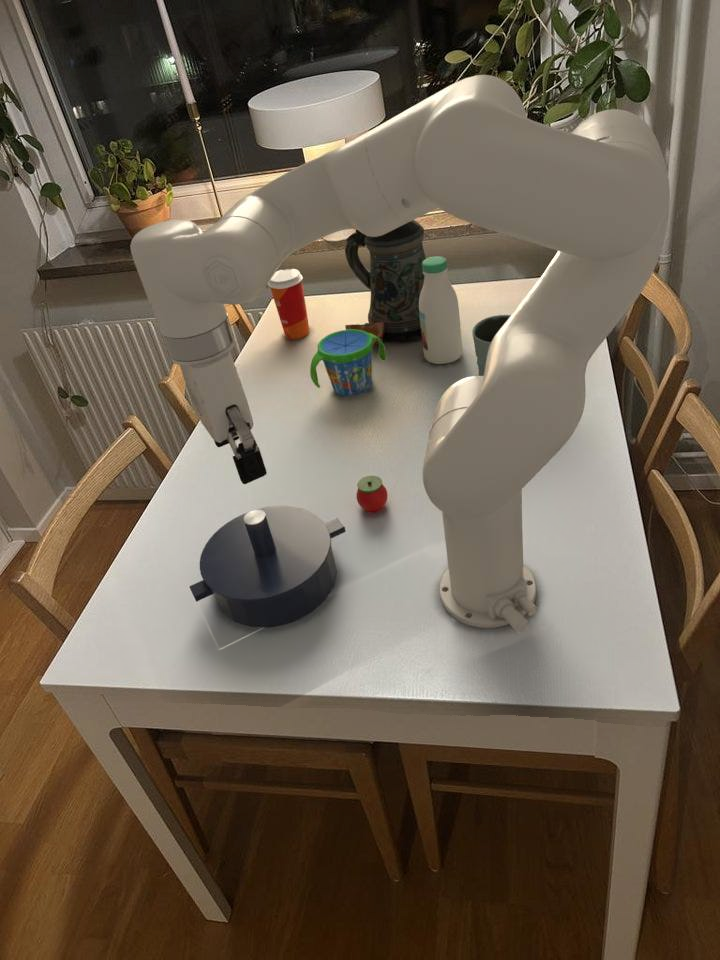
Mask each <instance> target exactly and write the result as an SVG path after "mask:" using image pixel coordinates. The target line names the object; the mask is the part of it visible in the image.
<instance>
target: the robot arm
mask: <svg viewBox="0 0 720 960" xmlns="http://www.w3.org/2000/svg"><path fill="white" fill-rule="evenodd" d="M669 179H670V178H669V174H668V169H667V165H666V162H665V158H664V155H663V152H662V149H661V146H660V143H659V141H658V139H657V136H656V135H655V133H654V131H653V130H652V128H651V127H650V126H649V124H648V123H647V122H646V121H645V120H643V119H642V118H641V117H640V116H639V115H637V114H635V113H634V112H631V111H628V110H624V109H619V108H618V109H617V108H612V109H606V110H601V111H598V112H596V113H594V114H592V115H590V116H589V117H587V118H586V119H584V120H582V121H581V122H580V123H579V124H578V125H577V126H576V127H575V129H574V130H572V131H571V132H569V131H565V130H563V129H560V128H556V127H553V126H550V125H547V124H545V123H541V122H538V121H536V120H533V119H531V118H528V116H527V112H526V109H525V106H524V103H523V102H522V100H521V98H520V96H519V94H518V93H517V92H516V90H515V89H514V88H513V87H512V86H511V85H510V84H509V83H508V82H507V81H505V80H504V79H502V78H500V77H497V76H494V75H490V74H479V75H478V74H476V75H473V76H469V77H464V78H463V79H460V80H459V81H456V82H454V83H452V84H450V85H448V86H446V87H444V88H443V89H441V90H439V91H437V92H435V93H434V94H432V95H430V96H428V97H426V98H425V99H423V100H421V101H419V102H418V103H416V104H414V105H412V106H411V107H409V108H407V109H405V110H404V111H402V112H400V113H398V114H397V115H395V116H392V118H390V119H388V120H386V121H385V122H382V123H381V124H379V125H377V126H376V127H374V128H372V129H370V130H368V131H366V132H365V133H362V134H361V135H359V136H357V137H356V138H354V139H352V140H350V141H349V142H346V143H345V144H342V145H341V146H338V147H337V148H335V149H331V150H330V151H328V152H326V153H324V154H322V155H320V156H319V157H317V158H314V159H312V160H309V161H307V162H305V163H303V164H301V165H299V166H297V167H295V168H293V169H291V170H289V171H287V172H285V173H284V174H281V175H280V176H279V177H276V178H274V179H272V180H271V181H269V182H268V183H266V184H264V185H261V186H260V187H259V188H257V189H256V190H254V191H252V192H250V193H249V194H247V195H245V196H244V197H242V198H241V199H240V200H238V201H237V202H236V203H234V205H232V206H231V207H230V208H229V209H228V210H227V211H226V212H225V213H224V214H223V215H222V216H221V217H220V218H219V220H217V221H216V223H215V224H213V225H211V226H210V227H208V228H207V229H205V230H204V231H202V230H201V228H200V227H199V226H198V225H197V224H196V223H195V222H193V221H190V220H188V219H170V220H169V219H168V220H164V221H159V222H156V223H154V224H151V225H148V226H146V227H145V228H142V229H141V230H139V231H138V232H136V233H135V235H134V236H133V237H132V239H131V241H130V254H131V257H132V260H133V263H134V266H135V268H136V270H137V273H138V276H139V278H140V282H141V284H142V287H143V289H144V293H145V295H146V298H147V300H148V304H149V305H150V308H151V311H152V313H153V316H154V319H155V322H156V325H157V327H158V330H159V332H160V335H161V338H162V340H163V343H164V345H165V348H166V351H167V354H168V357H169V359H170V361H171V362H172V363H173V364H175V365H178V366H179V368H180V370H181V374H182V377H183V380H184V383H185V385H186V389H187V392H188V395H189V398H190V401H191V404H192V408H193V411H194V412H195V414H196V416H197V418H198V419H199V421H200V423H201V424H202V426H203V427H204V429H205V430H206V431H207V433H208V434H209V436H210V438H212V439H213V441H214V444H215V446H216V447H217V448H221V447H225V446H226V445H228V444H229V447H230V449H231V450H232V453H233V456H232V459H233V463H234V465H235V468H236V472H237V474H238V477H239V480H240V482H241V483H242V484H243V485H247V484H249V483H252V482H254V481H257V480H258V479H261V478H264V477H265V476H267V468H266V465H265V463H264V459H263V456H262V452H261V449H260V447H259V445H258V443H257V441H256V439H255V436H254V434H253V433H252V429H253V427H254V420H253V415H252V411H251V408H250V405H249V402H248V399H247V395H246V393H245V390H244V387H243V383H242V381H241V378H240V375H239V373H238V370H237V366H236V364H235V362H234V359H233V357H232V353H231V351H233V348H234V347H235V345H236V342H237V341H236V340H237V339H236V336H235V333H234V330H233V327H232V324H231V320H230V317H229V315H228V311H227V308H226V305H233V306H234V305H235V306H236V305H244V304H247V303H250V302H252V301H254V300H255V299H257V298H258V297H259V296H260V295H261V294H262V292H263V291H264V290H265V289H266V287H267V286H268V283H269V281H270V280H271V278H272V277H273V275H274V274H275V272H276V271H278V270H279V268H280V266H282V264H283V262H284V261H285V260H286V258H288V257H289V256H291V255H292V254H294V253H295V252H297V251H299V250H301V249H303V248H305V247H306V246H309V245H310V244H313V243H315V242H317V241H318V240H321V239H323V238H326V237H328V236H330V235H332V234H335V233H338V232H341V231H345V230H346V231H347V230H355V229H356V230H359V231H360V232H361V233H363V234H365V235H367V236H370V237H378V236H382V235H384V234H386V233H388V232H390V231H392V230H394V229H396V228H398V227H400V226H402V225H404V224H406V223H408V222H410V221H412V220H416V219H419V218H420V217H422V216H425V215H427V214H428V213H431V212H433V211H435V210H437V209H439V210H441V211H443V212H444V213H447V214H449V215H451V216H452V217H454V218H456V219H458V220H461V221H464V222H467V223H469V224H472V225H474V226H478V227H480V228H483V229H486V230H489V231H492V232H495V233H499V234H501V235H505V236H508V237H511V238H515V239H518V240H521V241H525V242H528V243H530V244H533V245H538V246H541V247H545V248H548V249H552V250H554V251H557V252H556V254H555V255H554V257H553V258H552V260H551V261H550V263H549V264H548V265H547V267H546V269H545V270H544V272H543V273H542V275H541V276H540V278H539V279H538V280H537V282H536V283H535V284H534V285H533V287H532V288H531V289H530V290H529V292H528V293H527V294H526V296H525V297H524V298H523V300H522V301H521V302H520V304H519V305H518V306H517V308H516V309H515V310H514V311H513V313H512V314H510V315H511V316H510V318H509V319H508V320H507V321H506V322H505V324H504V325H503V326H502V327H501V328H500V330H499V331H498V332H497V334H496V335H495V337H494V338H493V340H492V342H491V344H490V347H489V350H488V354H487V360H486V365H485V371H484V376H478V375H471V376H466V377H463V378H461V379H458V380H457V381H456V382H454V383H452V384H451V385H450V386H449V387H448V388H447V389H446V390H445V391H444V392H443V394H442V395H441V397H440V398H439V400H438V402H437V404H436V407H435V410H434V413H433V417H432V422H431V426H430V430H429V434H428V435H429V436H428V441H427V444H426V450H425V454H424V458H423V465H422V483H423V484H422V485H423V488H424V490H425V493H426V495H427V497H428V499H429V501H430V502H431V503H432V504H433V505H434V507H436V508H437V510H439V511H440V512H441V514H442V522H443V531H444V539H445V540H444V541H445V549H446V558H447V566H448V568H447V569H446V570H445V571H444V573H443V575H442V576H441V578H440V582H439V599H440V601H441V603H442V607H444V609H445V610H446V611H447V613H449V615H450V616H451V617H452V618H454V619H455V620H457V621H458V622H460V623H463V624H465V625H467V626H471V627H475V628H482V629H483V628H484V629H491V628H493V629H494V628H501V627H504V626H508V625H510V627H512V629H513V630H514V631H515V632H516V633H517V634H520V633H523V632H525V631H526V630H527V629H528V627H529V626H530V621H529V620H528V619H527V618H526V617H525V615H528V616H530V617H531V616H534V615H535V614H536V613H537V612H538V606H536V605H535V604H534V603H535V600H536V597H537V583H536V581H535V576H534V575H533V573H532V571H531V570H529V569H530V568H528V567H527V566H526V565H525V564H524V541H523V540H524V536H523V488H525V487H526V486H527V485H528V483H530V481H532V479H533V478H535V477H536V476H537V474H538V473H539V472H540V471H541V470H542V469H544V467H545V466H546V465H547V464H548V463H549V462H550V461H551V460H552V459H553V458H554V457H555V456H556V455H557V454H558V453H559V451H560V450H561V449H562V448H563V447H565V445H566V444H567V443H568V441H569V440H571V439H570V438H571V437H572V436H573V434H574V432H575V431H576V429H577V427H578V425H579V424H580V421H581V419H582V416H583V414H584V410H585V405H586V371H587V368H588V367H587V366H588V363H589V362H590V360H591V358H592V356H593V355H594V354H595V352H596V351H597V350H598V348H599V347H600V346H601V345H602V343H603V342H604V341H605V340H606V339H607V338H608V336H609V335H610V334H611V333H612V332H613V330H614V329H615V327H616V326H617V325H618V324H619V322H620V321H621V320H622V319H623V317H624V316H625V315H626V314H627V313H628V311H629V310H630V309H631V308H632V306H633V305H634V304H635V302H636V301H637V300H638V299H639V296H640V295H641V294H642V293H643V291H644V289H645V287H646V286H647V284H648V282H649V280H650V279H651V277H652V275H653V273H654V271H655V268H656V266H657V264H658V261H659V259H660V256H661V254H662V250H663V247H664V243H665V240H666V235H667V230H668V226H669V225H668V224H669V217H670V203H671V202H670V199H671V188H670V180H669ZM356 230H355V231H356ZM236 441H239V443H238V445H237V443H236Z"/></svg>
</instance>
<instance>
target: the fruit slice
mask: <svg viewBox="0 0 720 960" xmlns="http://www.w3.org/2000/svg"><path fill="white" fill-rule="evenodd" d="M344 327H345V330H351V329H355V330H362V331H365V332H367V333H371V334H373V335H375V336H377V337H378V338H379V339H380V340H381V339H382V338H383V336H384V333H385V323H384V322H376V323H369V322H365V323H364V324H358V323H357V324H345V325H344ZM381 341H382V340H381ZM377 345H379V342H378V341H377V339H374V340H373V347H374V346H377Z"/></svg>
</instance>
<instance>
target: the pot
mask: <svg viewBox="0 0 720 960" xmlns="http://www.w3.org/2000/svg"><path fill="white" fill-rule="evenodd" d="M325 524H326V526H327V528H328V530H329V533H330V537H331V539H334V538H336V537H337V536H340V535H342V534H344V533H346V531H347V530H346V527H345V526H344V524H343V523H342V521H340V519H339V518H338V517H337V518H334V519H332V520H330V521H327V522H325ZM337 575H338V571H337V565H336V561H335V557H334V553H333V548H332V547H331V550H330V554H329V557H328V559H327V561H326V563H325V565H324V566H323V568H322V569H321V570H320V572H319V573H318V574H317V575H316V576H315V577H314V578H313V579H312V580H310V581H309V582H308V583H307V584H305V585H304V586H302V587H301V588H299V589H297V590H296V591H294V592H292V593H289V594H287V595H285V596H282V597H279V598H276V599H272V600H268V601H263V602H251V603H247V602H237V601H231V600H228V599H225V598H223V597H220V596H218V595H217V594H215V593H214V592H212V591H211V590H210V589H209V588H208V587H207V585H206V584H205V582H204V580H203V579H202V580H200V581H198V582H196V583H193V584H191V585H189V590H190V592H191V593H192V597H193V599H194V600H195V602H197V603H198V602H199V601H201V600H203V599H205V598H207V597H210V596H213V595H214V597H215V600H216V602H217V604H218V606H219V608H220V610H221V612H222V613H223V614H224V615H226V617H228V618H229V619H230V620H231V621H233V622H235V623H238V624H241V625H244V626H247V627H251V628H262V629H263V628H264V629H265V628H275V627H279V626H284V625H287V624H291V623H294V622H296V621H298V620H301V619H302V618H305V617H306V616H308V615H310V614H311V613H312V612H314V611H315V610H316V609H318V608H319V607H320V606H321V605H322V604H323V603H324V602H325V601H326V599H327V598H328V597H329V595H330V593H331V592H332V590H333V588H334V587H335V583H336V579H337Z"/></svg>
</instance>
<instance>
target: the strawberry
mask: <svg viewBox="0 0 720 960" xmlns="http://www.w3.org/2000/svg"><path fill="white" fill-rule="evenodd" d="M356 486H357V490H356V496H355V497H356V501H357V503H358V505H359V506H360V507H361V508H362V509H363V510H365V512H367V513H369V514H376V513H379V512H381V511H382V510H383V509H384V507H385V505H386V503H387V502H388V490H387V488H386V486H385V484H383V480H382V479H381V477H379V476H377V475H366V476H364V477H361V478H360V480H358V482H357V485H356Z"/></svg>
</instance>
